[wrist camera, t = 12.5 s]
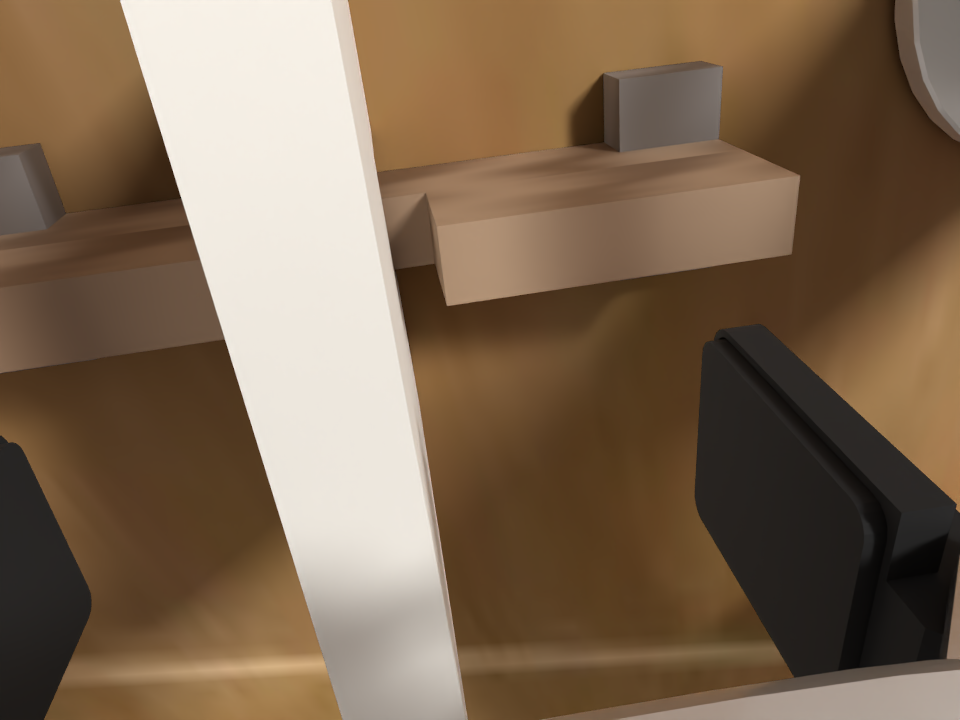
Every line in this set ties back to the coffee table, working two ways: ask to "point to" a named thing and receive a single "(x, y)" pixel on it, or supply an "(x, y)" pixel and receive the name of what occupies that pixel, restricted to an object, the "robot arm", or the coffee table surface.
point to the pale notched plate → (312, 325)
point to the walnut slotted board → (415, 226)
